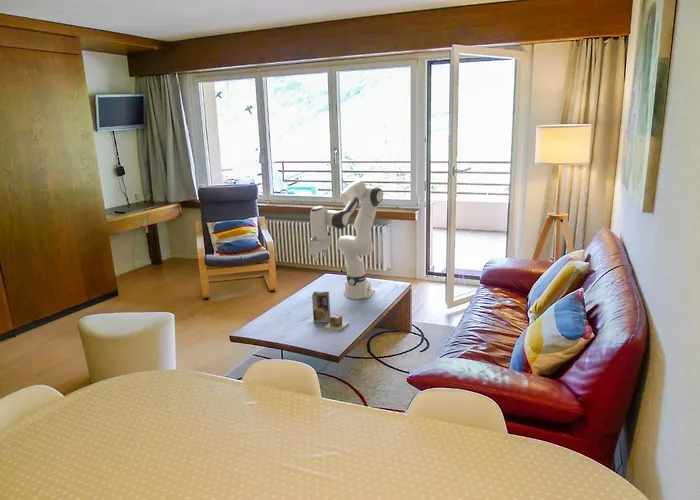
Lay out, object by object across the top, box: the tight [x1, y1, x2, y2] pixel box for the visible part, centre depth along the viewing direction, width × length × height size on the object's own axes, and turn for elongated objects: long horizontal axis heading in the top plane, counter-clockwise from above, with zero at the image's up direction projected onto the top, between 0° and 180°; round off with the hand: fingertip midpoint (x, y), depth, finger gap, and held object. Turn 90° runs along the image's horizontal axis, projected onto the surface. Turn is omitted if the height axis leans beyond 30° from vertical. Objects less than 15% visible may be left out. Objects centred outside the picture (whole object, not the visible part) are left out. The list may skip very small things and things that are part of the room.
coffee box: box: [311, 291, 331, 323], centre depth 284 cm, size 9×6×16 cm
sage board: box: [323, 321, 350, 333], centre depth 276 cm, size 11×10×1 cm
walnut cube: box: [329, 313, 343, 327], centre depth 276 cm, size 5×5×5 cm
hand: (320, 258), depth 287 cm, fingers open, 8 cm apart
